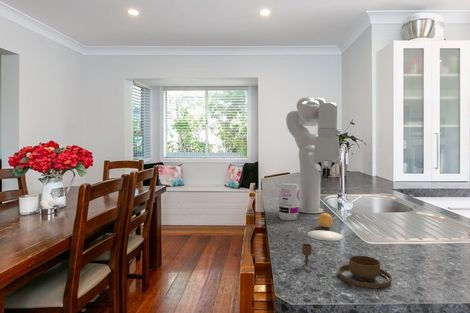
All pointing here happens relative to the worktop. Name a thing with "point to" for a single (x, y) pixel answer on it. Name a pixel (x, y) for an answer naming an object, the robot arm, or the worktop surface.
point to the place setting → (357, 269)
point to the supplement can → (288, 201)
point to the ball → (324, 220)
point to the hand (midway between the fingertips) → (326, 177)
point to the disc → (325, 235)
